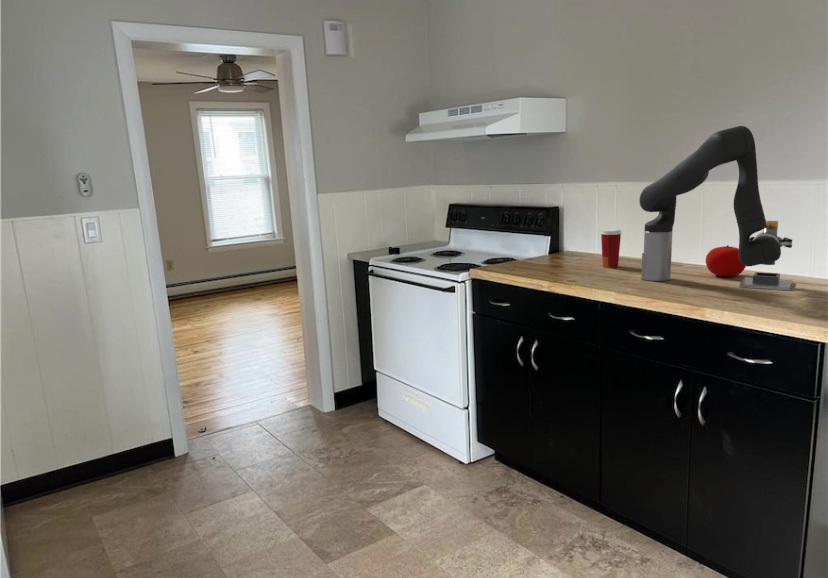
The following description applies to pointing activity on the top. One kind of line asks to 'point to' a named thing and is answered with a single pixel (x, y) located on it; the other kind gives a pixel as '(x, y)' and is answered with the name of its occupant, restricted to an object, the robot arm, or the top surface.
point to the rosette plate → (766, 281)
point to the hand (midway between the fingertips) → (770, 239)
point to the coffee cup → (610, 247)
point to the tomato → (724, 261)
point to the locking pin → (772, 228)
